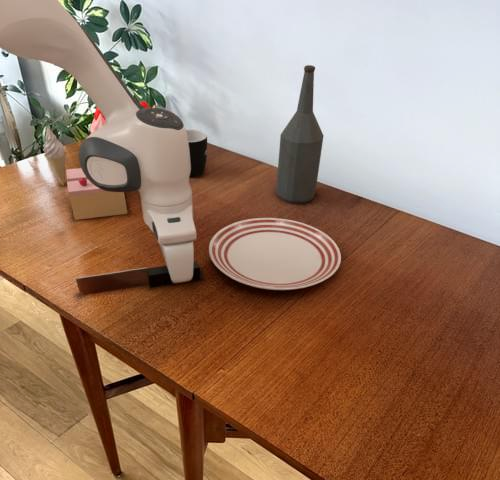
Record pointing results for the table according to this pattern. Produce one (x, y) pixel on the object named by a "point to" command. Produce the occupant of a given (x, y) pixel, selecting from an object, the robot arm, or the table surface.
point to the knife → (129, 279)
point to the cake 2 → (92, 197)
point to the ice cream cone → (55, 154)
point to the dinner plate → (274, 253)
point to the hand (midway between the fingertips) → (173, 273)
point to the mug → (197, 151)
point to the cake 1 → (100, 119)
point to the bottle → (300, 148)
